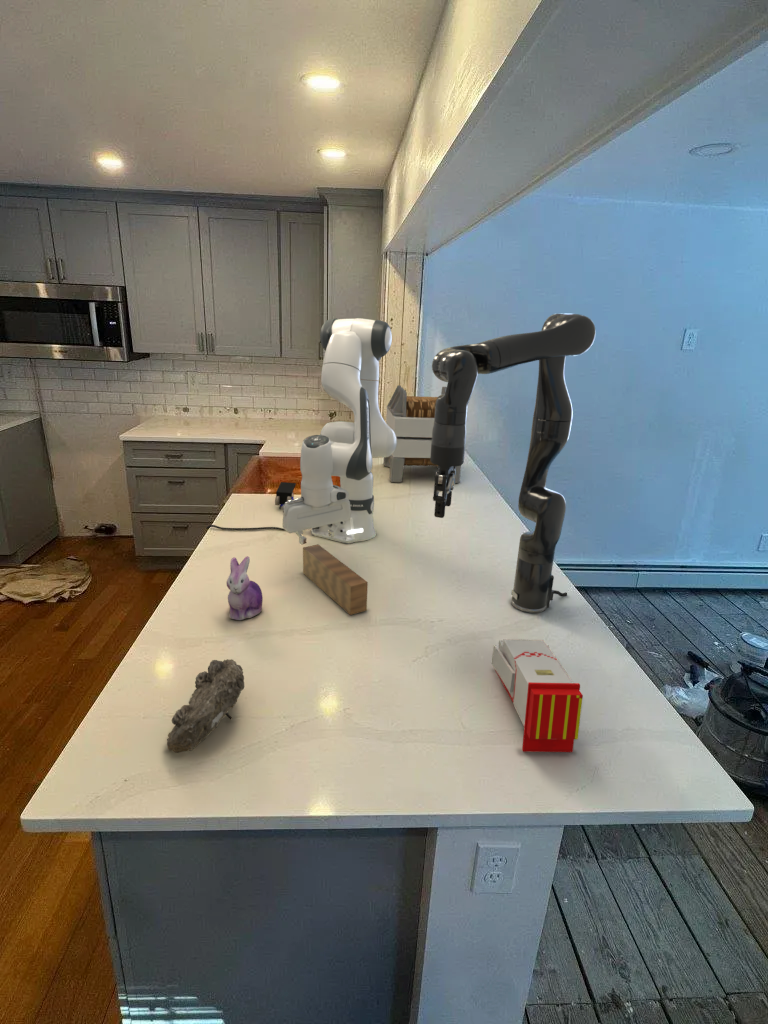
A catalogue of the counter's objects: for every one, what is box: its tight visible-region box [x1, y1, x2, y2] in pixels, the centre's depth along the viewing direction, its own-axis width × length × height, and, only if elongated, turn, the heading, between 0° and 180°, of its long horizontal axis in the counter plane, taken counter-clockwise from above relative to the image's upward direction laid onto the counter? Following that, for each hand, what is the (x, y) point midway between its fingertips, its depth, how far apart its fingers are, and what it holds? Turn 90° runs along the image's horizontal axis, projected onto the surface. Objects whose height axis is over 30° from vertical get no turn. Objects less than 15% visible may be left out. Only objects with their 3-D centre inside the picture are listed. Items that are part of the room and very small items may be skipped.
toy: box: [491, 638, 584, 753], centre depth 114 cm, size 12×13×30 cm
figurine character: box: [274, 481, 297, 510], centre depth 222 cm, size 7×8×15 cm
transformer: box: [383, 384, 462, 484], centre depth 268 cm, size 34×33×41 cm
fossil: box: [166, 658, 245, 754], centre depth 106 cm, size 22×10×15 cm
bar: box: [302, 543, 369, 616], centre depth 157 cm, size 28×5×8 cm, turn 33°
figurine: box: [226, 555, 264, 621], centre depth 142 cm, size 9×10×15 cm
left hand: (317, 539), depth 163 cm, fingers open, 8 cm apart
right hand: (442, 511), depth 131 cm, fingers open, 8 cm apart
